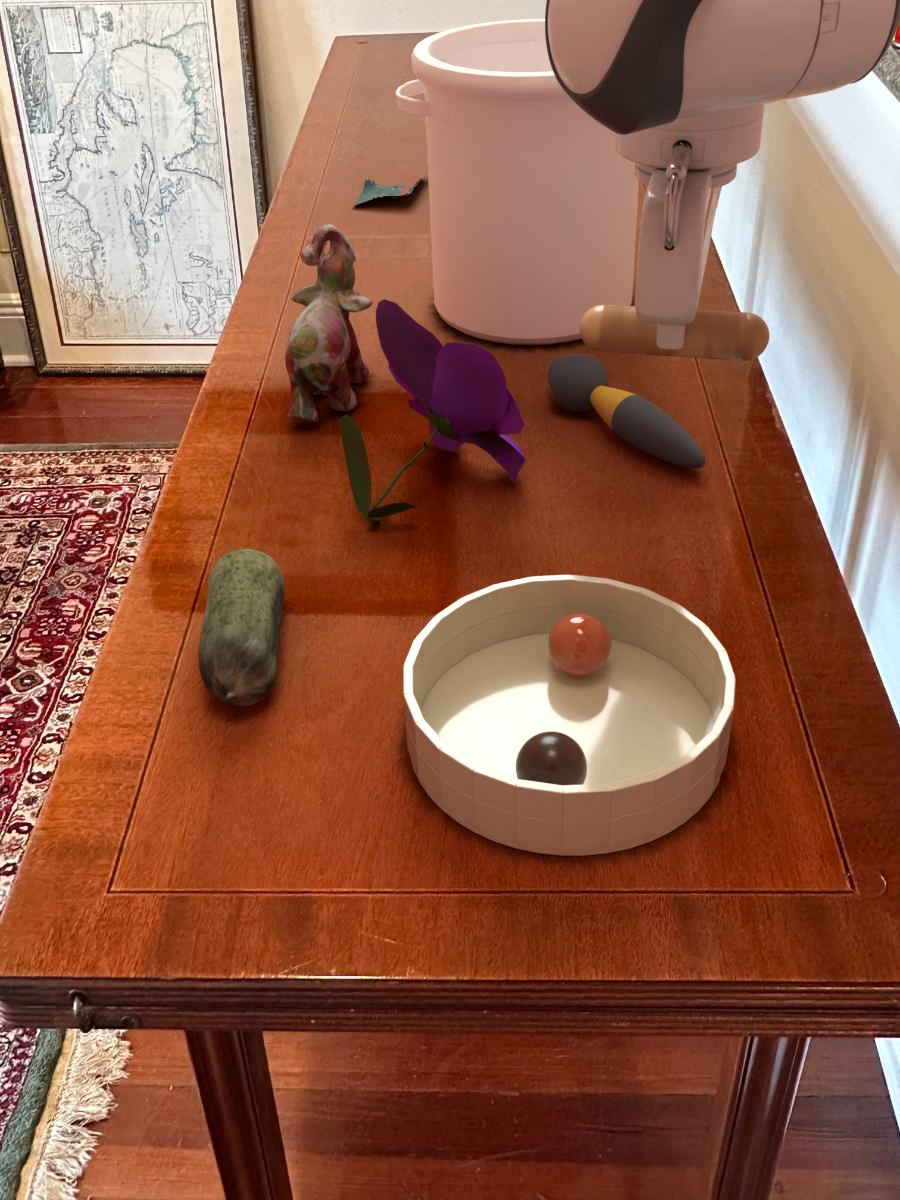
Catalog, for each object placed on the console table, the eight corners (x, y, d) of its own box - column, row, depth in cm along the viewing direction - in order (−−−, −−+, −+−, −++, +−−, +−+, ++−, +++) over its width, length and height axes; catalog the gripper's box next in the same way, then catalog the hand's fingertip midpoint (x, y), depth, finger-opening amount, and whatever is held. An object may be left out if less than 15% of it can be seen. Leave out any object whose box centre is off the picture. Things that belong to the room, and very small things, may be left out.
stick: (767, 349, 82) (772, 306, 80) (765, 370, 80) (771, 326, 78) (582, 338, 85) (583, 295, 83) (575, 358, 83) (576, 315, 81)
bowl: (733, 653, 78) (741, 592, 75) (716, 881, 63) (726, 817, 60) (448, 620, 82) (445, 560, 79) (370, 827, 67) (363, 764, 64)
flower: (466, 600, 92) (567, 468, 95) (389, 490, 80) (507, 343, 83) (340, 530, 100) (436, 411, 103) (253, 422, 88) (364, 291, 91)
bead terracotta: (613, 652, 78) (616, 603, 75) (605, 693, 75) (608, 643, 72) (552, 645, 78) (553, 597, 76) (542, 685, 75) (543, 635, 73)
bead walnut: (590, 772, 69) (592, 721, 67) (580, 823, 66) (582, 772, 64) (522, 762, 70) (522, 712, 68) (509, 812, 67) (509, 762, 65)
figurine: (398, 383, 110) (386, 223, 101) (317, 438, 103) (296, 271, 94) (333, 364, 114) (316, 208, 105) (250, 416, 106) (224, 253, 97)
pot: (398, 355, 115) (379, 79, 100) (418, 266, 133) (404, 20, 118) (666, 353, 113) (688, 72, 98) (650, 263, 131) (666, 13, 116)
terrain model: (412, 208, 147) (410, 192, 146) (351, 209, 149) (349, 194, 148) (432, 175, 157) (431, 160, 156) (375, 176, 159) (373, 162, 158)
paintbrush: (732, 461, 97) (738, 406, 94) (691, 483, 95) (697, 428, 92) (561, 382, 110) (561, 331, 106) (521, 400, 107) (521, 348, 104)
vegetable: (216, 595, 85) (205, 537, 82) (289, 590, 85) (281, 532, 82) (196, 729, 74) (183, 668, 71) (280, 723, 74) (270, 662, 71)
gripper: (732, 176, 64) (710, 405, 73) (748, 78, 80) (729, 276, 88) (615, 172, 66) (606, 398, 74) (654, 77, 81) (643, 271, 90)
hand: (673, 330), depth 81 cm, fingers closed on stick, 3 cm apart
